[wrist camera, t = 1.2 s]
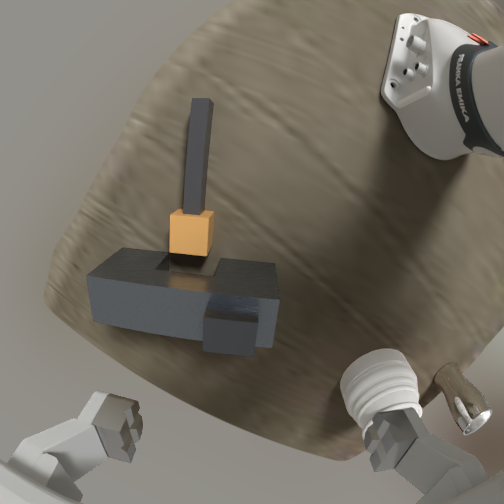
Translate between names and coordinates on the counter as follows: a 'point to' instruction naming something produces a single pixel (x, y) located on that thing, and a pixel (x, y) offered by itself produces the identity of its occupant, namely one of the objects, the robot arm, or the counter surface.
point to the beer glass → (462, 399)
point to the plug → (195, 187)
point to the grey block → (188, 300)
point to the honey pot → (379, 386)
